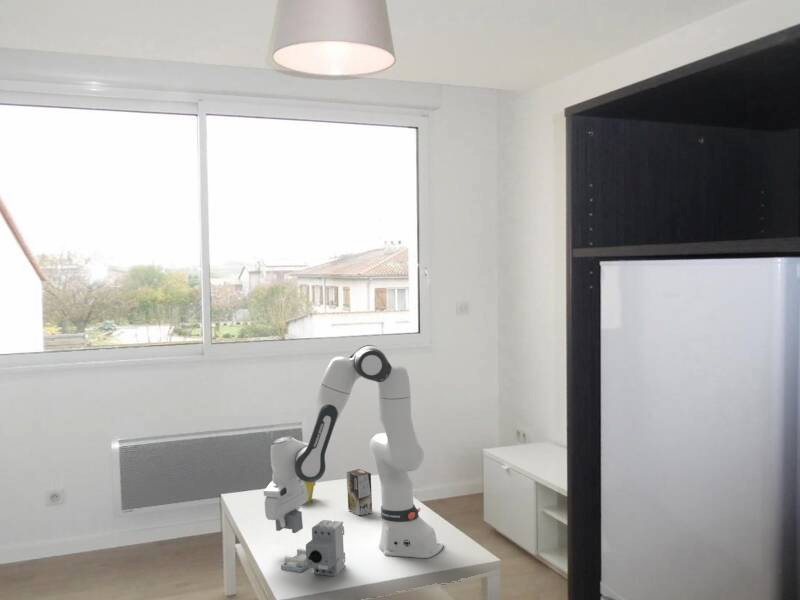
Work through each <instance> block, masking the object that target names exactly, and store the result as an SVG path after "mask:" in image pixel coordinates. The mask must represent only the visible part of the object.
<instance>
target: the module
mask: <svg viewBox="0 0 800 600" xmlns="http://www.w3.org/2000/svg"><path fill="white" fill-rule="evenodd" d="M284 519H285V521H287V526H286V527H281V524H280V521H279V520H278V519H277V520H274V521H275V531H278V532H280V531H282V530H284V529H286V530H291V533H292V534H296V533H299V531H301V530H303V529H304V527H303V525H304V524H303V514H302V511H301V510H299V511H293V510H292V511H290V512H289V513H287V514H285V518H284Z"/></svg>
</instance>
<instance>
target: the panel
mask: <svg viewBox="0 0 800 600" xmlns="http://www.w3.org/2000/svg"><path fill="white" fill-rule="evenodd" d="M283 559H284V560H283V561H284V562H283V563H282V564H280V569H281V568H284V569H283V570H286V569H288V570H287V571H291V570H292V571H291V572H296V573H302V572H304V571H305V570H306V569H308V568H307V563H306V549H303V548H297V549H296V555H294V556H293V557H292V556H287V555H286V556H284V558H283Z"/></svg>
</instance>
